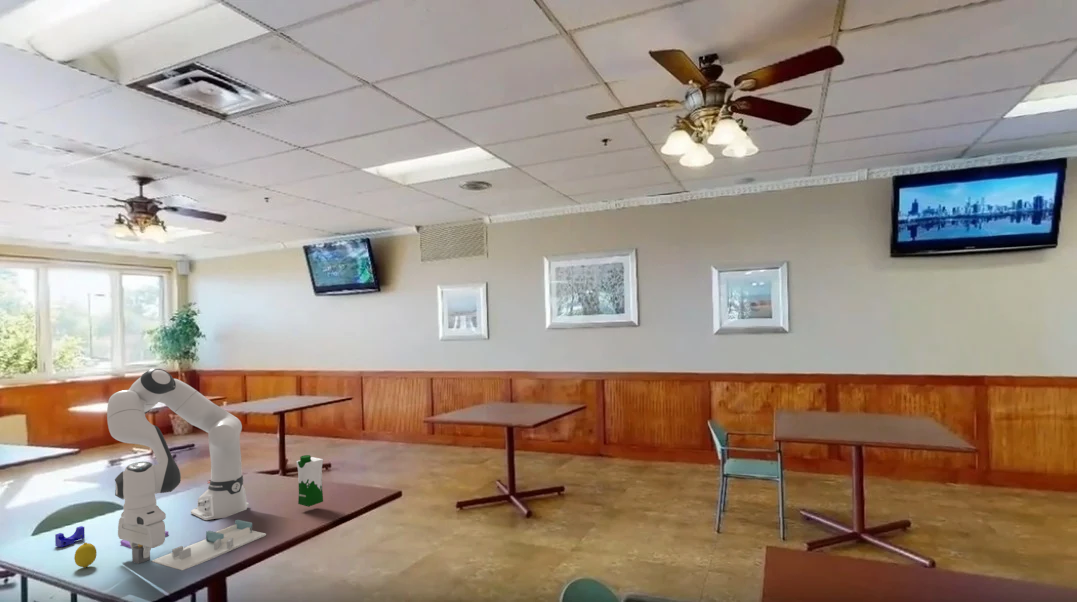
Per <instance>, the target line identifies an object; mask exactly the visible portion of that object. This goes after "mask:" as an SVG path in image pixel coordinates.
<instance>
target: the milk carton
mask: <svg viewBox="0 0 1077 602" xmlns="http://www.w3.org/2000/svg"><path fill="white" fill-rule="evenodd" d="M299 457H300V458H299V460H296V461H295V462H296V467H297V473H298V476H297V477H298V478H297V479H298V482H297V483H298V498H297V499H298V501H297V504H298V505H300V506H304V507H308V508H309V507H312V506H315V505H317V504H321V503H323V502H324V496H323V495H324V492H323V464H324V459H323V458H319V457H314V456H311V455H310V454H306V455H301V456H299Z"/></svg>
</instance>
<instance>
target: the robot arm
mask: <svg viewBox="0 0 1077 602" xmlns="http://www.w3.org/2000/svg"><path fill="white" fill-rule="evenodd" d="M159 403H160V404H164V405H165V406H166V407H167V408H169V409H170V411H172V412H174V413H175V414H176V415H178V416H179V417H180V418H181V419H183V420H184V421H186V422H187V423H188V424H189V425H191V426H194V427H196V428H198V429H200V430H202V431H204V432H206V433H208V438H207V439H208V448H209V449H208V450H209V457H210V479H209V480H208V481H207V484H208V489H206V491H204V492H203V493H202V494H201V495H200V496H198V499H197V507H195V508H193V509H191V510H190V514H192V515H194V516H196V517H197V518H200V519H202V520H203V521H210V520H214V519H215V520H216V519H225V518H229V517H230V516H233V515H235V514H238V513H242V512H243V511H246V510H247V509H248V507H249V506H250V505H249V502H247V494H246V489H245V486H243V485H244V477H243V471H242V469H243V468H242V465H243V464H242V451H241V437H240V436H241V433H242V430H243V425H242V421H241V420H240V419H239V418H238V417H236V416H235V415H233V414H232V413H231V412H229V411H227V410H226V409H224V408H222V407H221V406H219V405H217V404H216V403H214V402H213V401H211V400H210V399H209V398H207V397H206V396H204V394H202V393H201V392H199V391H198V390H197V389H195V388H194V387H192V386H191V385H189V384H188V383H186V382H184V381H182V380H180V379H178V378H174V377H173V376H172V374H170V373H169V372H168V371H167V370H164V369H161V368H157V367H155V368H150V369H148V370H146V371H145V372H143V374H141V376H140V377H139V378H138V379H136V380H135V381H134V382H133V383H132V384H131V385H130V387H129V388H128V389H124V390H123V389H122V390H119V391H117V392H114V393H113V394H112V395H111V396H110V397H109V399H108V403H107V411H106V412H107V413H106V417H107V418H106V419H107V421H106V422H107V427H108V431H109V433H110V436H111V437H112V438H113V439H115V441H119V442H121V443H125V444H131V445H133V444H134V445H139V446H140V445H141V446H144V447H148V448H149V449H151V450H152V452H153V455H154V457H155V459H156V461H157V464H155V465H153V463H151V462H149V461H136V462H133V463H131V464H129V465H127V466H126V467H125V469H124V471H122V472H120V473H119V474H118V475H117V476H116V477H115V479H114V483H115V494H114V495H115V496H116V497H117V498H118V499H121V500H124V504H123V506H122V507H123V508H122V509H123V511H122V512H121V514H120V518H119V519H118V525H117V526H118V527H117V536H118V539H119V540H126V541H129V542H130V546H131V548H130V549H132V547H135V546H138V544H140V545H143V548H144V551H143V552H142V557H143V558H147V557H149V556H150V557H151V550H152V549H154V548H157V547H160V546H163V545H164V543H165V541H166V536H165V531H166V524H165V522H164V521H165V520H166V517H167V516H166V513H165V512H164V511H163V510H162V509H161V508H160V507H159V505H157V498H156V494H164V493H166V494H167V493H171V492H173V491H174V490H175V489H176V488H177V487H178V486H179V485H180V484H181V478H182V474H181V471H180V468H179V466H178V464H177V462H176V461H175V459H174V457H173V455H172V453H171V451H170V448H169V446H168V444H167V441H166V439H165V437H164V435H163V433H162V431H161V429H160V428H159V426H157V425H154V424H153V423H151V422H149V420H148V419H147V417H146V414H147V413H149V412H150V411H151V410H152V409H153V408H154V407H155V406H156V405H158V404H159Z"/></svg>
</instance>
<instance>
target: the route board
mask: <svg viewBox="0 0 1077 602" xmlns="http://www.w3.org/2000/svg"><path fill="white" fill-rule="evenodd" d="M265 536H267V533H265V532H262V531H261V532H260V531H256V530H252V532H251V533H249V534H247V535H244V536H242V537H239V538H237V539H235V540H233V538H230V539H229V540H228V541H227V543H225V544H223V545H221V539H217V540H216V541H215V542H214V543H211V542H207V541H206V538H205V539H203V540H200V541H198V542H195V543H193V544H190V545H187V546H185V547H184V545H180V546H178V547H175V548H172V549H171V550H172V552H170V553H167V554H165V555H162V556H160V557H157V558H155V559H152V560H151V563H154V564H158V565H161V566H165V567H168V568H172V569H176V570H180V571H185V570H187V569H190V568H192V567H195V566H198V565H201V564H203V563H205V562H207V561H210V560H213V559H215V558H217V557H219V556H222V555H224V554H226V553H228V552H232V551H233V550H235V549H238V548H240V547H242V546H244V545H247V544H250V543H251V542H255V541H256V540H258V539H260V538H263V537H265Z"/></svg>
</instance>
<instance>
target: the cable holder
mask: <svg viewBox="0 0 1077 602" xmlns="http://www.w3.org/2000/svg"><path fill="white" fill-rule="evenodd" d="M54 535H55V538H54V539H55V541H54V542H55V547H59V548H63V547H66V546H69V545H73V544H75V542H77V541H79V540H83V539H85V538H86V537H85V535H86V534H85V526H83V525H80V526H77V527H76V528H75V531H74V532H73V534H72V535H71V536H69V537H66V536H65V535H64V533H62V532H59V533H55V534H54Z"/></svg>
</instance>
